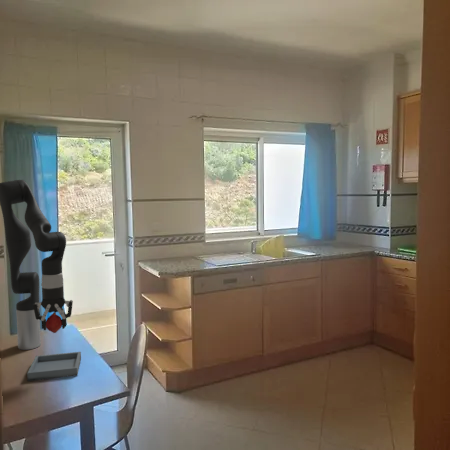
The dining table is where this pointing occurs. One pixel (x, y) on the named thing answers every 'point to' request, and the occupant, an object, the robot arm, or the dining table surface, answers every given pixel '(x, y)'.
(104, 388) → the dining table surface
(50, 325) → the onion
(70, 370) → the tray
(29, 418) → the dining table surface
